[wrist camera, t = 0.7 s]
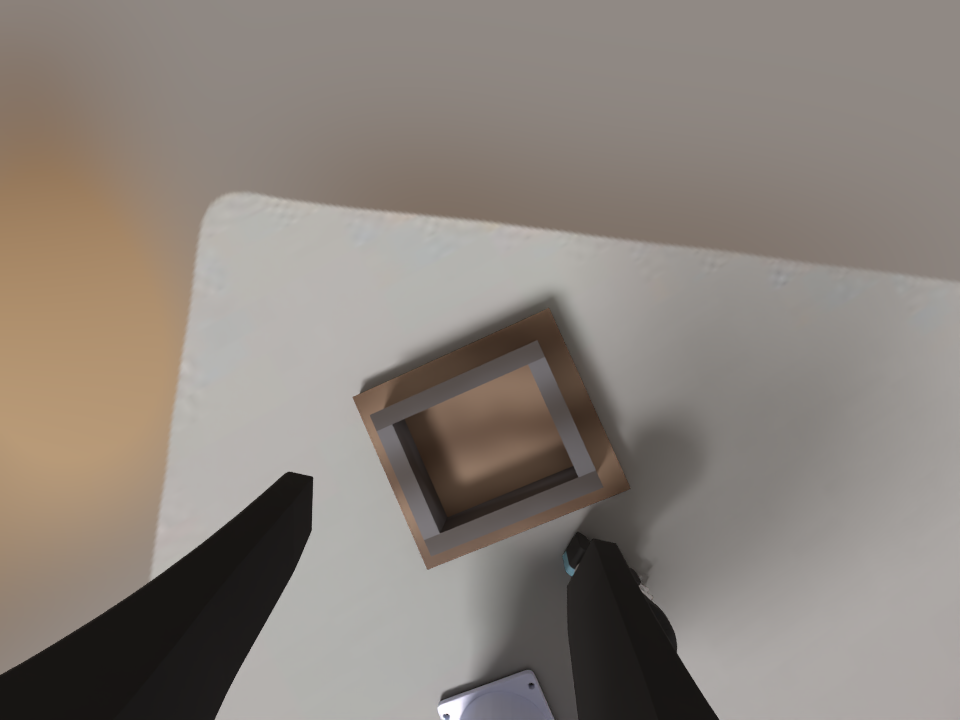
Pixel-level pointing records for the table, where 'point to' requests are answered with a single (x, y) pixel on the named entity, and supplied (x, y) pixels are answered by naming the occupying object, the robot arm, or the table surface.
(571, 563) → the push button
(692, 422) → the table surface
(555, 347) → the socket board
